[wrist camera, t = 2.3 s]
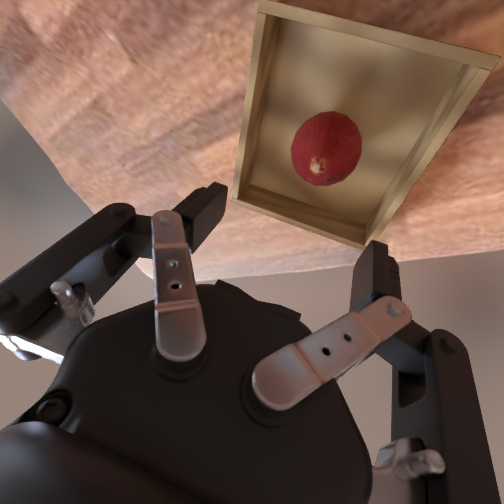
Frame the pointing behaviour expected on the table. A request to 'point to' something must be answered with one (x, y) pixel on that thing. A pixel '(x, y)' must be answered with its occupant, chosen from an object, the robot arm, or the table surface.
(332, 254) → the table surface
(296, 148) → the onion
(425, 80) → the tray
